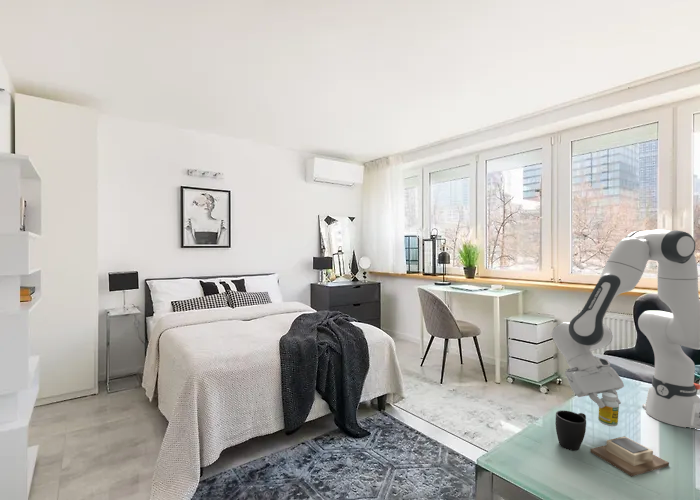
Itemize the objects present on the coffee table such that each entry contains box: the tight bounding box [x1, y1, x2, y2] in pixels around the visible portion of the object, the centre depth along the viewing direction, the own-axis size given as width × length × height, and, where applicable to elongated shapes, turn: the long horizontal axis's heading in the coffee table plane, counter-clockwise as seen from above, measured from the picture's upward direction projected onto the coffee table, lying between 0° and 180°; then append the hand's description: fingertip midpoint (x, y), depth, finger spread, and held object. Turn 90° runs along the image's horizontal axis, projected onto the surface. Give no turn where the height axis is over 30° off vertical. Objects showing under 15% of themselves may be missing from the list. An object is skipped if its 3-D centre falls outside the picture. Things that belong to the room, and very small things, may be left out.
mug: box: [554, 410, 587, 452], centre depth 117 cm, size 8×12×10 cm
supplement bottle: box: [597, 392, 620, 427], centre depth 122 cm, size 5×5×10 cm
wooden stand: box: [589, 435, 670, 477], centre depth 110 cm, size 16×12×4 cm
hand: (610, 405), depth 122 cm, fingers closed on supplement bottle, 5 cm apart
